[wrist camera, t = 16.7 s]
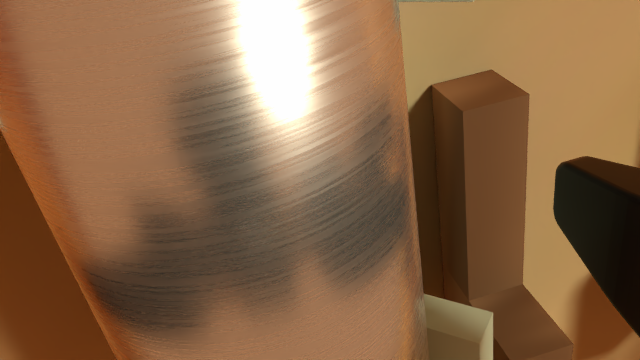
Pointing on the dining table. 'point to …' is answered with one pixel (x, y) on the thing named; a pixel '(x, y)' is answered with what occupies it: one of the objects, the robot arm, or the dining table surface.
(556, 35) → the dining table surface
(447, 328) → the cradle
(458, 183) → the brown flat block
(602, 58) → the dining table surface
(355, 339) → the brown rounded bar
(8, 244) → the dining table surface
